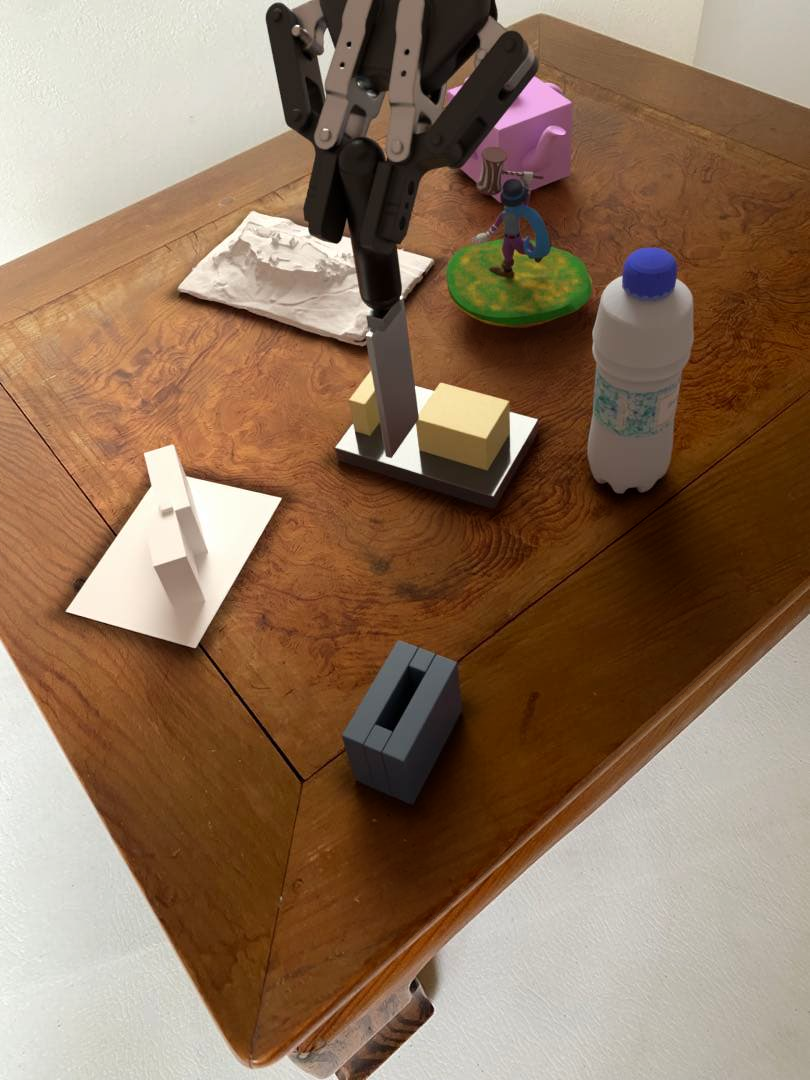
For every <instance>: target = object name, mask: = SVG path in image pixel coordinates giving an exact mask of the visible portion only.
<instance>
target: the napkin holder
mask: <svg viewBox="0 0 810 1080" xmlns="http://www.w3.org/2000/svg"><path fill="white" fill-rule="evenodd" d="M143 455H144V460H145V464H146V468H147V472H148V476H149V480H150V485H151V486H150V488H149V489H148V490H147V492H146V493H145V495H144V496H143V497H142V499H141V501H140V502H139V504H138V505H137V507H135V510H133V512H132V514H131V515H130V517H129V518H128V519H127V521H126V522H125V524H124V525H123V527H122V528H121V529H120V531H119V533H118V534H117V536H116V537H115V539H114V540H113V542H112V543H111V544H110V546H109V548H108V549H106V552H104V554H103V556H102V557H101V558H100V560H99V562H98V563H97V565H96V566H95V568H94V569H93V570H92V572H91V574H90V575H89V577H88V578H87V579H86V581H85V582H84V583H83V585H82V587H81V588H80V589H79V591H78V592H77V594H76V596H74V598H73V600H72V602H71V603H70V605H69V606H68V607H67V608H66V610H65V611H64V612H65V613H69V614H72V615H76V616H81V617H83V618H86V619H90V620H93V621H97V622H101V623H105V624H108V625H112V626H115V627H119V628H122V629H125V630H129V631H132V632H136V633H139V634H143V635H147V636H149V637H154V638H157V639H161V640H165V641H167V642H172V643H175V644H178V645H182V646H186V647H190V648H192V649H196V648H197V647H198V645H199V643H200V642H201V640H202V639H203V637H204V635H205V633H206V631H207V629H208V628H209V626H210V624H211V622H212V621H213V619H214V617H215V616H216V614H217V612H218V611H219V608H220V607H221V605H222V603H223V602H224V600H225V598H226V597H227V595H228V593H229V592H230V590H231V588H232V586H233V584H234V583H235V581H236V580H237V577H238V576H239V574H240V572H241V570H242V569H243V567H244V565H245V564H246V562H247V560H248V559H249V556H250V555H251V553H252V552H253V549H254V548H255V546H256V544H257V543H258V541H259V539H260V538H261V536H262V534H263V532H264V530H265V529H266V527H267V525H268V523H269V522H270V520H271V518H272V517H273V515H274V513H275V511H277V508H278V506H279V504H280V503H281V501H282V499H283V498H282V497H279V496H274V495H270V494H266V493H261V492H256V491H252V490H247V489H245V488H244V489H243V488H239V487H235V486H230V485H226V484H221V483H217V482H213V481H208V480H203V479H199V478H196V477H190V476H187V474H186V473H185V470H184V468H183V465H182V463H181V460H180V458H179V454H178V452H177V450H176V447H175V444H174V443H173V444H170V445H166V446H163V447H160V448H157V449H156V448H155V449H153V450H149V451H146V452H144V453H143Z"/></svg>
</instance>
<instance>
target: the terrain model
mask: <svg viewBox="0 0 810 1080" xmlns="http://www.w3.org/2000/svg"><path fill="white" fill-rule="evenodd" d="M286 216H287V215H285V216H284V217H285V218H284V217H277V216H270V215H267V214H263V213H259V212H257V211H255V210H252V211H249V214H247V216H246V217H245V218H244V219H243V220H242V222H241V223H240V225H239V226H237V227H236V229H235V230H234V231H233V233H231V234H230V235H228V236H227V237H226V238H225V239H224V240H223V241H221V242H220V243H219V244H218V245H216V246H215V247H214V248H213V249H211V251H210V252H209V253H208V254H207V255H206V256H205V257H204V258H203V259H202V260H200V261H199V262H198V264H196V265H195V267H194V266H193V267H192V268H191V272H190V273H189V274H188V275H187V276H186V277H185V278H184V279H183V281H182V282H181V283H180V284H179V285H178V287H177V292H178V293H187V294H188V295H190V296H192V297H196V298H197V299H201V300H207V301H211V302H213V301H214V302H217V303H221V304H224V305H227V306H231V307H233V308H237V309H243V310H244V309H245V310H246V311H248V312H249V313H250V312H251V313H252V314H256V315H258V316H261V317H266V318H267V319H272V320H274V321H278V323H283V324H286V325H289V326H293V327H296V328H298V329H301V330H302V331H306V332H310V333H313V334H317V335H320V336H322V337H327V338H333V339H336V340H338V341H339V342H345V343H347V344H350V345H355V346H360V347H364V346H367V342H366V340H365V339H366V337H365V336H366V334H367V333H368V332H369V330H370V329H371V328H368V324H367V318H366V316H367V314H368V313H369V312H370V310H371V308H370V307H368V306H367V305H366V304H365V303H364V302H363V300H362V298H361V296H360V292H359V286H358V280H357V274H356V269H355V263H354V257H353V251H352V245H351V239H350V237H347V236H343V237H342V239H341V241H340V242H339V243H338V244H334V243H330V242H325V241H322V240H320V239H318V238H316V237H313V236H311V235H310V233H309V230H308V226H302V225H299V224H296V223H295V222H294V221H292V220H291V219H289V218H286ZM397 251H398V259H399V267H400V274H401V282H402V294H401V296H403V297H404V300H406V298H407V297H408V295H409V294H410V293H411V292H412V291H413V289H414V288H415V287H416V285H417V284H419V283H420V282H421V281H422V280H423V278H424V275H423V274H424V273H425V274H427V273H428V272H429V271H430V269H431V268H432V267H433V265H434V264H435V260H434V258H431V257H426V256H423V255H420V254H416V253H413V252H411V251H410V250H409V251H405V248H401V249H398V248H397ZM364 340H365V341H364Z"/></svg>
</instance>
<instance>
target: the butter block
mask: <svg viewBox="0 0 810 1080" xmlns="http://www.w3.org/2000/svg"><path fill="white" fill-rule="evenodd" d="M433 391H434V392H433V394H432V395H431V397H430V398H429V400H428V401H427V403H426V404H425V406H424V407H423V409H422V410H421V411H420V413H419V419H418V421H417V422H416V429H417V437H418V445H419V450H420V451H423V452H427V453H430V454H433V455H437V456H440V457H443V458H447V459H450V460H453V461H457V462H460V463H464V464H467V465H470V466H474V467H477V468H480V469H484V470H488V469H489V467H490V466H491V464H492V462H493V461H494V459H495V457H496V455H497V454H498V452H499V450H500V449H501V447H502V445H503V444H504V442H505V440H506V439H507V437H508V435H509V434H510V412H511V411H510V410H511V409H510V406H511V404H510V400H507V399H503V398H499V397H496V396H493V395H489V394H485V393H483V392H482V393H481V392H478V391H474V390H470V389H466V388H463V387H460V386H455V385H451V384H448V383H445V382H439V383H438V385H437V386H436V388H435V389H434V390H433Z"/></svg>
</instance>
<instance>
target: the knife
mask: <svg viewBox="0 0 810 1080" xmlns="http://www.w3.org/2000/svg"><path fill="white" fill-rule="evenodd" d="M386 160H387V157H386V153H385V151H384V149H383V148H382V147H381V145H380V144H379V143H378V142H377V141H376V140H374V139H373V138H371V137H368V136H366V137H355V138H352V139H350V140H349V141H348V142H346V143H345V144H344V146H343V147H342V148H341V150H340V153H339V156H338V168H339V174H340V180H341V186H342V192H343V198H344V203H345V209H346V215H347V220H346V222H347V227H348V233H349V238H350V239H351V245H352V251H353V257H354V263H355V269H356V274H357V280H358V286H359V292H360V296H361V298H362V300H363V302H364V303H365V304H366V305H367V306H368V307H370V308H371V310H370V312H369V313H368V314H367V316H366V318H367V324H368V328H371V329H370V330H369V332H368V333H367V334H366V336H365V341H366V342H367V343H366V347H367V353H368V359H369V365H370V371H371V372H372V378H373V384H374V389H375V395H376V401H377V407H378V413H379V419H380V425H381V431H382V436H383V442H384V448H385V454H386V457H389V458H392V457H393V455H394V454H395V453H396V451H397V450H398V448H399V447H400V445H401V444H402V442H403V441H404V440H405V438H406V437H407V435H408V434H409V432H410V431H411V429H412V428H413V426H414V425H415V424H416V422H417V421H418V419H419V414H418V407H417V399H416V391H415V386H416V385H415V384H416V383H415V375H414V369H413V361H412V354H411V353H412V352H411V343H410V338H409V330H408V323H407V314H406V307H405V299H404V297H403V296H401V294H402V282H401V274H400V267H399V259H398V251H397V249H398V244H395V243H394V247H393V250H392V252H391V253H390V254H389V255H384V254H379V253H375V252H372V251H370V250H368V249H366V248H364V247H362V245H361V243H360V235H361V231H362V227H363V222H364V218H365V214H366V210H367V206H368V202H369V197H370V193H371V189H372V185H373V181H374V177H375V172H376V168H377V164H378V162H382V163H386Z"/></svg>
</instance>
